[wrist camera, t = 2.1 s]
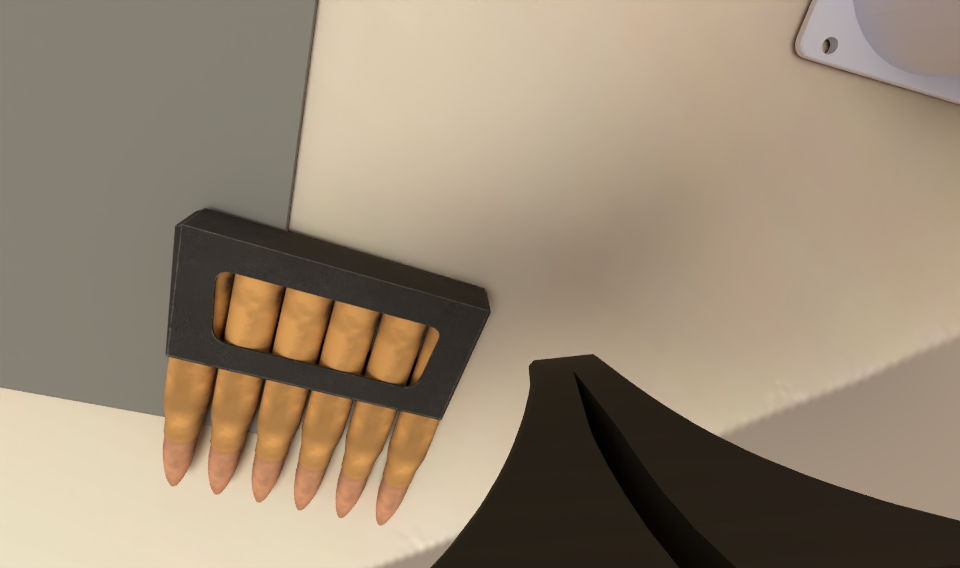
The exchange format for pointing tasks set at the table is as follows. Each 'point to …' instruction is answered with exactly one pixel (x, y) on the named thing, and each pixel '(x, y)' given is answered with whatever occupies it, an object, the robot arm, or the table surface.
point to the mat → (131, 172)
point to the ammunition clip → (308, 357)
